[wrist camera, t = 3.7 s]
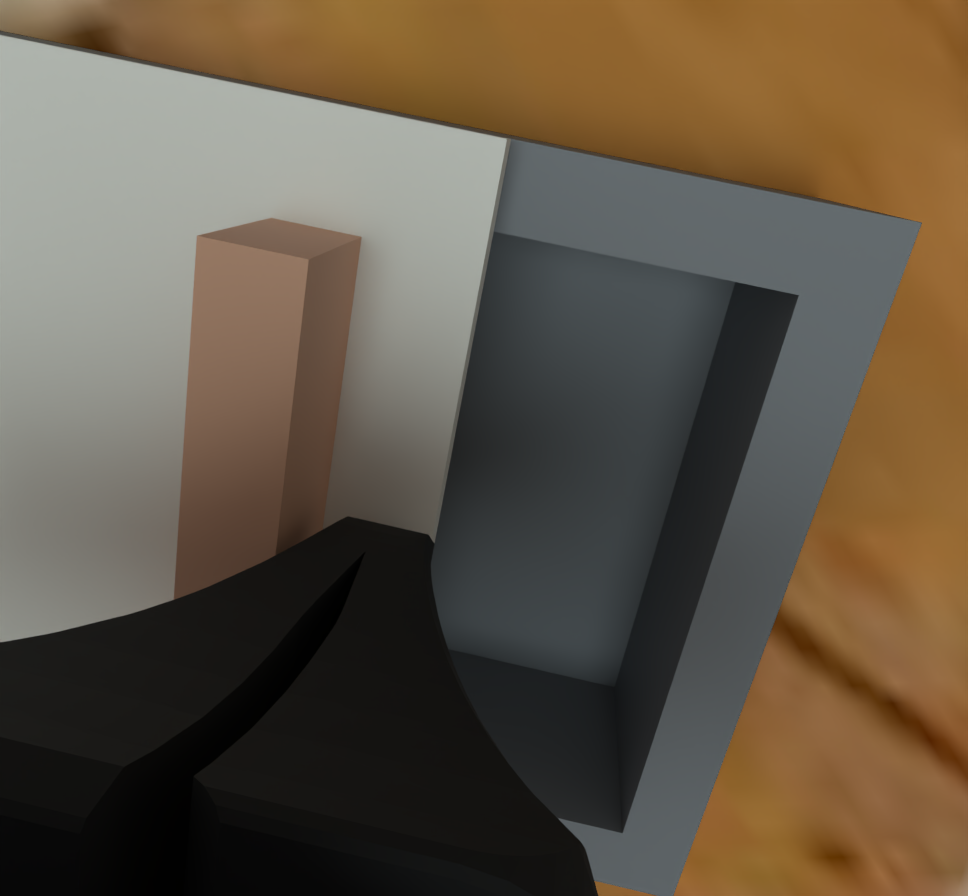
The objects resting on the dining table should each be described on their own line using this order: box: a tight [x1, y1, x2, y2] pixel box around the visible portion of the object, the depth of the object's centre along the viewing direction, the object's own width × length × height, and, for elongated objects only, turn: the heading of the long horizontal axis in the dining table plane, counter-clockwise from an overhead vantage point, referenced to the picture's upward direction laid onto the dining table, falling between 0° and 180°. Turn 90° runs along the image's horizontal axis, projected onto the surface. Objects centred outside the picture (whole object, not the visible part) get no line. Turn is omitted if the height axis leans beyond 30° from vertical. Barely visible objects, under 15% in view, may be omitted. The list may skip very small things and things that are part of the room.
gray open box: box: [0, 31, 922, 896], centre depth 16 cm, size 18×12×5 cm, turn 79°
